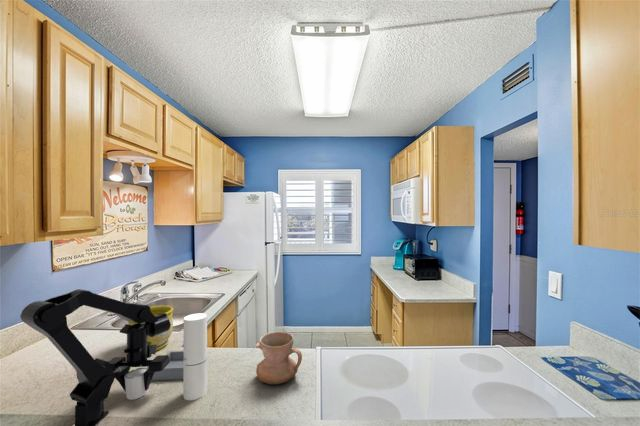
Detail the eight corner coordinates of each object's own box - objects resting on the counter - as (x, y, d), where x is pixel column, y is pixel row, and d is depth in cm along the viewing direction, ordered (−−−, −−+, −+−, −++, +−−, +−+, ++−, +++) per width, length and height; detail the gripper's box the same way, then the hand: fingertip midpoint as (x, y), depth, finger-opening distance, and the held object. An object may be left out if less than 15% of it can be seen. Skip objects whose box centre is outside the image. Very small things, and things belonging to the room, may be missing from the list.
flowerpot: (178, 347, 126) (178, 310, 127) (131, 361, 113) (132, 320, 114) (166, 336, 139) (166, 303, 139) (123, 347, 126) (123, 311, 127)
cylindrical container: (200, 384, 96) (200, 311, 97) (211, 392, 91) (211, 316, 92) (179, 394, 90) (179, 317, 91) (189, 403, 86) (189, 322, 87)
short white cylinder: (136, 401, 87) (136, 379, 87) (118, 399, 88) (118, 377, 89) (154, 389, 94) (154, 368, 94) (136, 387, 95) (137, 366, 95)
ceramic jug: (245, 384, 95) (245, 343, 96) (265, 363, 109) (265, 327, 109) (293, 394, 90) (293, 350, 90) (308, 371, 104) (308, 333, 104)
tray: (190, 378, 100) (190, 367, 100) (150, 380, 99) (150, 369, 99) (204, 359, 114) (204, 349, 114) (169, 361, 113) (169, 351, 113)
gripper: (177, 331, 100) (177, 375, 100) (124, 333, 99) (123, 378, 99) (161, 345, 89) (161, 394, 89) (101, 347, 88) (100, 397, 88)
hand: (136, 390), depth 91 cm, fingers closed on short white cylinder, 6 cm apart
